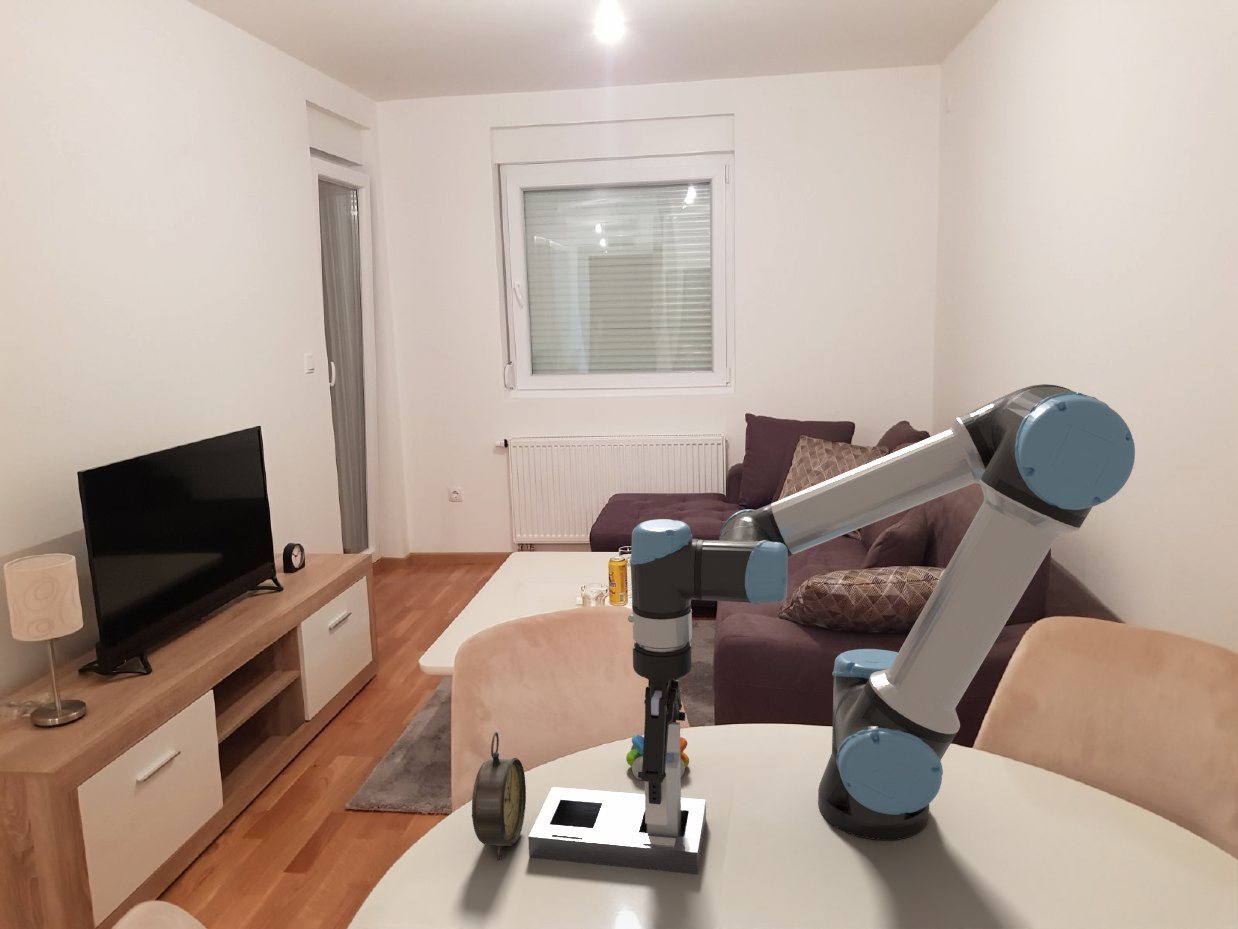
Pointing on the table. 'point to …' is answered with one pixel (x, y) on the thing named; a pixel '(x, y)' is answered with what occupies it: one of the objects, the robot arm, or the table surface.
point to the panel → (614, 832)
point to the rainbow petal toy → (636, 755)
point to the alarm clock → (499, 800)
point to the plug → (671, 798)
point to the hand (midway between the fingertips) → (663, 793)
